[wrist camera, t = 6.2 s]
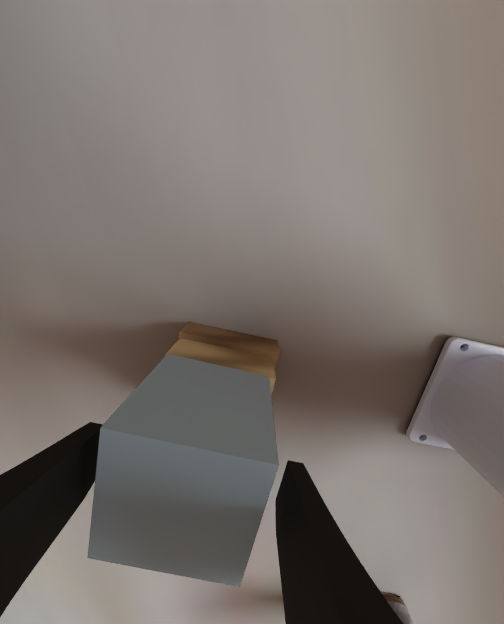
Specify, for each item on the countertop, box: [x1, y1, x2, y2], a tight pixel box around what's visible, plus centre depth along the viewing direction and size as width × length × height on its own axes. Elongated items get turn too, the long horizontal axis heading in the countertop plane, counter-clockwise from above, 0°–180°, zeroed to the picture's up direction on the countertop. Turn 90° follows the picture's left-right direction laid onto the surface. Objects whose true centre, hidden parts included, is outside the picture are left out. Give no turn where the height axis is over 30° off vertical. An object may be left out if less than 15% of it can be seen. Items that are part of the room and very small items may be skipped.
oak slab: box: [164, 338, 276, 395], centre depth 13 cm, size 6×6×2 cm
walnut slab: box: [178, 322, 280, 371], centre depth 16 cm, size 6×6×2 cm
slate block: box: [88, 354, 279, 587], centre depth 10 cm, size 5×5×5 cm
